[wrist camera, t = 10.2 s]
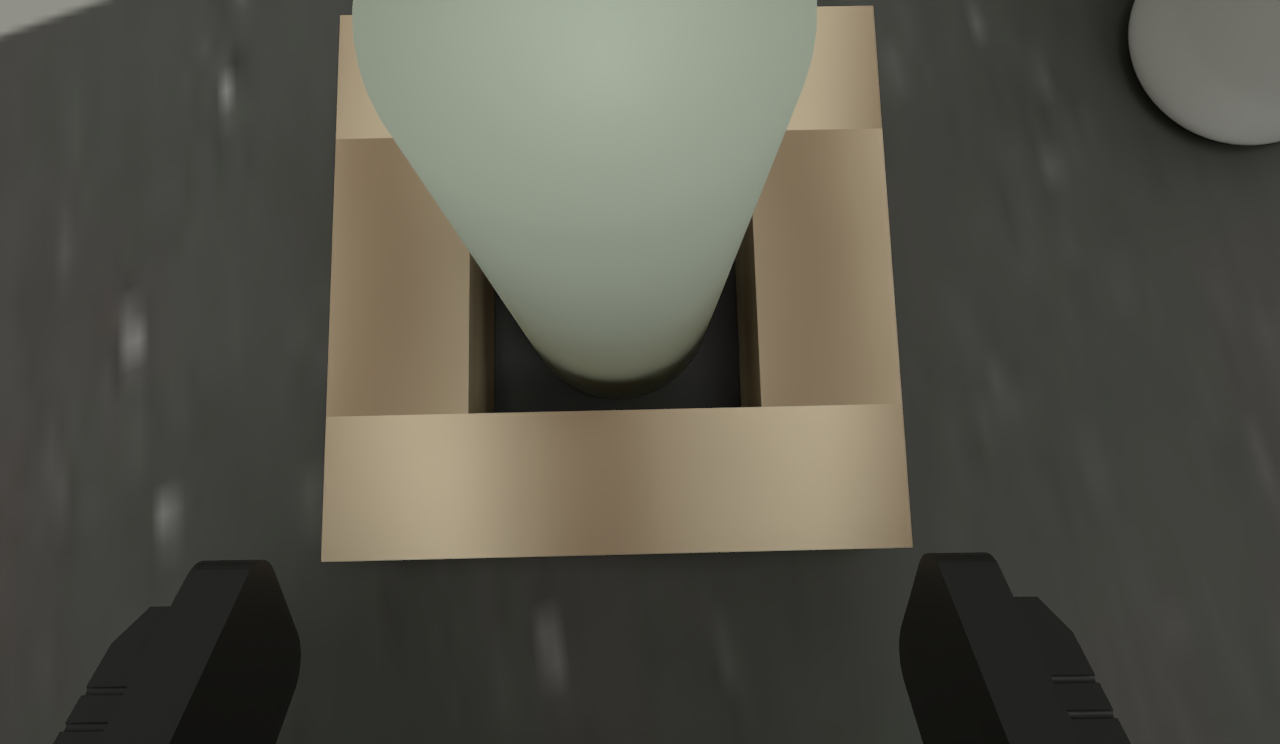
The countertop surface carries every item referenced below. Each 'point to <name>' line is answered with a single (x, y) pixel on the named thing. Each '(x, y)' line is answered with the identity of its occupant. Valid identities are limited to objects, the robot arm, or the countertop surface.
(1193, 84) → the drinking glass
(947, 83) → the countertop surface
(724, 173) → the peg
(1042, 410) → the countertop surface
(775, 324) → the socket
